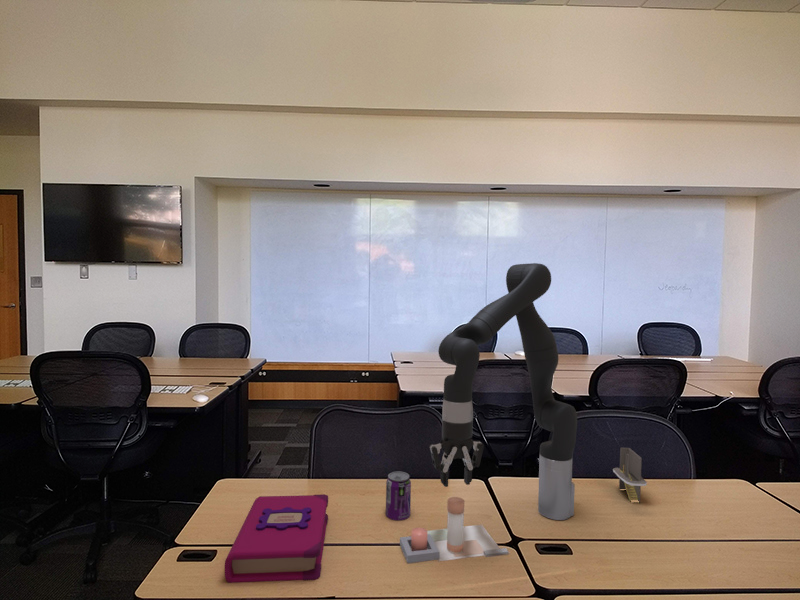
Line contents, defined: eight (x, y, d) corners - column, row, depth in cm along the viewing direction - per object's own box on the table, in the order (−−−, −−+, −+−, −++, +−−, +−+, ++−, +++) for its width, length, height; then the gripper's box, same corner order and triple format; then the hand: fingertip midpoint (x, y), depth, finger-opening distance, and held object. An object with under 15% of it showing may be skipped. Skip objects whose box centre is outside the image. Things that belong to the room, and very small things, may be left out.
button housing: (429, 543, 119) (429, 534, 119) (439, 561, 111) (439, 551, 111) (399, 547, 117) (399, 537, 117) (407, 566, 109) (407, 555, 109)
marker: (459, 543, 118) (460, 496, 117) (465, 553, 113) (466, 504, 113) (444, 545, 117) (445, 497, 116) (449, 555, 112) (450, 505, 112)
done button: (424, 542, 116) (424, 526, 116) (429, 551, 112) (429, 535, 112) (409, 544, 115) (409, 528, 115) (413, 553, 111) (413, 537, 111)
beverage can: (407, 524, 128) (408, 482, 128) (383, 521, 129) (383, 479, 129) (412, 512, 135) (412, 472, 135) (388, 509, 136) (389, 469, 136)
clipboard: (484, 524, 129) (484, 519, 129) (511, 557, 113) (511, 552, 113) (416, 532, 124) (416, 527, 124) (433, 567, 109) (434, 562, 108)
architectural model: (612, 516, 135) (614, 467, 135) (583, 479, 160) (584, 438, 160) (681, 518, 134) (683, 469, 134) (641, 482, 159) (642, 440, 159)
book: (224, 585, 102) (224, 551, 102) (253, 520, 130) (254, 493, 129) (319, 581, 104) (319, 548, 103) (328, 518, 132) (328, 492, 131)
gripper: (478, 411, 119) (477, 476, 120) (425, 414, 116) (424, 480, 116) (490, 420, 112) (488, 488, 112) (434, 423, 108) (433, 494, 109)
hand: (456, 484), depth 114 cm, fingers open, 5 cm apart
